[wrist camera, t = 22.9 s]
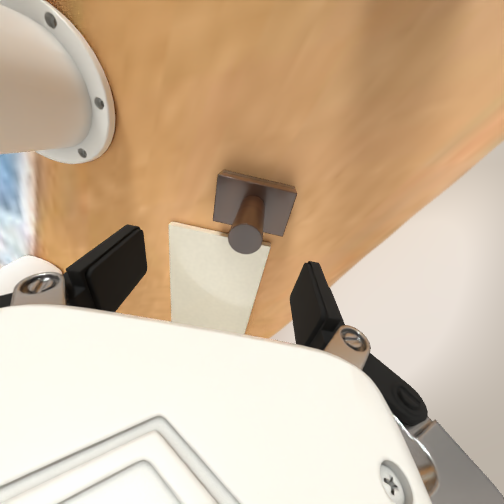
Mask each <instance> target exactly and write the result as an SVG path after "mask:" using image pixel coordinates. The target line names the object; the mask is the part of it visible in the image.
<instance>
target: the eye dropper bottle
mask: <svg viewBox="0 0 504 504" xmlns="http://www.w3.org/2000/svg"><path fill="white" fill-rule="evenodd" d="M43 272H57V273H60V274H62V271H61V270H60V269H59V268H57V267H56V266H54V265H53V264H51V263H50V262H48V261H46V260H43V259H41V258H38V257H34V256H30V255H27V256H23V257H21V258H19V259H17V260H15V261H13V262H11V263H9V264H7V265H5V266H3V267H1V268H0V296H1V295H5V294H9V293H13V289H14V287H15V285H16V284H17V283H19V282H20V281H21V280H23V279H25V278H26V277H29V276H31V275H34V274H38V273H43Z"/></svg>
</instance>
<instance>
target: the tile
mask: <svg viewBox="0 0 504 504" xmlns="http://www.w3.org/2000/svg"><path fill="white" fill-rule="evenodd" d="M270 247H271V243H268V242H263V241H262V245H261V247H260V248H259V249H258V250H257V251H256V252H254V253H252V254H241V253H238V252H236V251H235V250H233V249H232V248H231V246H230V244H229V242H228V234H227V233H222V232H218V231H213V230H209V229H204V228H200V227H195V226H191V225H186V224H182V223H177V222H171V223H170V224H169V255H170V289H171V322H176V323H182V324H187V325H193V326H199V327H205V328H210V329H216V330H222V331H228V332H233V333H239V334H245V331H246V327H247V324H248V321H249V317H250V314H251V311H252V307H253V304H254V301H255V297H256V294H257V291H258V287H259V284H260V281H261V277H262V274H263V271H264V267H265V264H266V261H267V257H268V254H269V251H270Z"/></svg>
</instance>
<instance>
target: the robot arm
mask: <svg viewBox="0 0 504 504" xmlns="http://www.w3.org/2000/svg"><path fill="white" fill-rule="evenodd" d="M114 131H115V109H114V101H113V97H112V93H111V89H110V86H109V83H108V81H107V78H106V76H105V73H104V71H103V68H102V66H101V65H100V63H99V61H98V59H97V57H96V55H95V53H94V52H93V50H92V49H91V47H90V46H89V44H88V43H87V41H86V40H85V39H84V37H83V36H82V34H81V33H80V32H79V31H78V30H77V29H76V27H75V26H74V25H73V24H72V23H71V22H70V21H69V20H68V18H66V17H65V16H64V15H63V14H62V13H61V12H60V11H58V10H57V9H56V8H55V7H54V6H53V5H51V4H50V3H48V2H47V1H45V0H0V154H9V153H19V152H29V151H35V152H37V153H38V154H40V155H43V156H45V157H47V158H49V159H51V160H54V161H58V162H61V163H68V164H79V163H85V162H89V161H93V160H95V159H97V158H99V157H100V156H101V155H102V154H103V153H104V152H105V151H106V150H107V149H108V147H109V145H110V143H111V142H112V138H113V135H114ZM66 271H67V272H66V273H64V274H63V275H62V274H60V273H57V272H43V273H38V274H34V275H31V276H29V277H26V278H25V279H23V280H21V281H20V282H19V283H17V284H16V285H15V287H14V289H13V293H9V294H5V295H1V296H0V504H504V497H503V496H502V494H501V493H500V492H499V490H498V489H497V488H496V487H495V485H494V484H493V483H492V482H491V481H490V480H489V479H488V478H487V476H486V475H485V474H484V473H483V472H482V471H481V470H480V469H479V467H478V466H477V465H476V464H475V463H474V462H473V461H472V460H471V459H470V458H469V456H468V455H467V454H466V453H465V452H464V451H463V450H462V449H461V448H460V446H459V445H458V444H457V443H456V442H455V441H454V440H453V439H452V438H451V437H450V435H449V434H448V433H447V432H446V431H445V430H444V429H443V428H442V426H441V425H440V424H439V423H438V422H437V421H436V420H434V421H432V420H431V419H430V418H429V417H428V416H427V408H426V405H425V404H424V402H423V400H422V398H421V397H420V396H419V394H418V393H417V392H416V391H415V390H414V389H413V388H412V387H411V386H410V385H409V384H407V383H406V382H405V381H404V380H402V379H401V378H400V377H399V376H398V375H396V374H395V373H394V372H393V371H391V370H390V369H389V368H388V367H387V366H385V365H384V364H383V363H382V362H380V361H379V360H378V359H377V358H376V357H374V356H373V355H372V354H371V353H370V349H371V347H370V343H369V341H368V339H367V338H366V337H365V335H364V334H363V333H361V332H360V331H359V330H357V329H356V328H354V327H351V326H348V325H345V324H344V322H343V319H342V316H341V314H340V311H339V309H338V306H337V304H336V301H335V299H334V296H333V294H332V292H331V289H330V288H329V287H328V284H327V282H326V279H325V277H324V274H323V271H322V269H321V266H320V264H319V263H316V262H311V261H309V262H308V263H305V264H304V265H303V268H302V270H301V272H300V275H299V277H298V279H297V281H296V284H295V286H294V288H293V291H292V293H291V295H290V305H291V312H292V319H293V326H294V332H295V340H296V344H293V343H287V342H283V341H278V340H272V339H267V338H261V337H256V336H250V335H245V334H239V333H233V332H228V331H222V330H216V329H210V328H205V327H199V326H193V325H187V324H182V323H176V322H170V321H164V320H158V319H152V318H146V317H140V316H134V315H128V314H122V313H116V312H115V311H116V310H117V309H118V307H119V306H120V305H121V304H122V302H123V301H124V300H125V299H126V297H127V296H128V295H129V294H130V292H131V291H132V290H133V289H134V287H135V286H136V285H137V284H138V282H139V281H140V280H141V279H142V277H143V276H144V275H145V273H146V272H147V261H146V252H145V243H144V235H143V231H142V230H140V228H139V227H138V226H133V225H125V226H124V227H123V228H121V229H120V230H119V231H117V232H116V233H114V234H113V235H112V236H110V237H109V238H108V239H106V240H105V241H103V242H102V243H101V244H99V245H98V246H97V247H95V248H94V249H92V250H91V251H90V252H88V253H87V254H86V255H84V256H83V257H81V258H80V259H79V260H77V261H76V262H75V263H73V264H72V265H70V266H69V267H68V268H66Z"/></svg>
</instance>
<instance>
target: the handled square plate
mask: <svg viewBox="0 0 504 504" xmlns="http://www.w3.org/2000/svg"><path fill="white" fill-rule="evenodd" d="M296 196H297V192H296V190H295V187H294V186H290V185H286V184H282V183H277V182H273V181H269V180H265V179H261V178H257V177H252V176H248V175H244V174H240V173H236V172H231V171H227V170H223V171H222V172H220V173H219V174H218V177H217V186H216V196H215V205H214V214H213V221H216V222H221V223H225V224H229V225H232V226H231V229H230V231H229V234H228V242H229V244H230V246H231V248H232V249H233V250H235V251H236V252H238V253H241V254H252V253H254V252H256V251H257V250H258V249H259V248H260V247H261V245H262V240H263V232H265V233H269V234H273V235H278V236H283V234H284V231H285V228H286V225H287V222H288V219H289V217H290V214H291V211H292V208H293V205H294V202H295V199H296Z"/></svg>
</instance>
